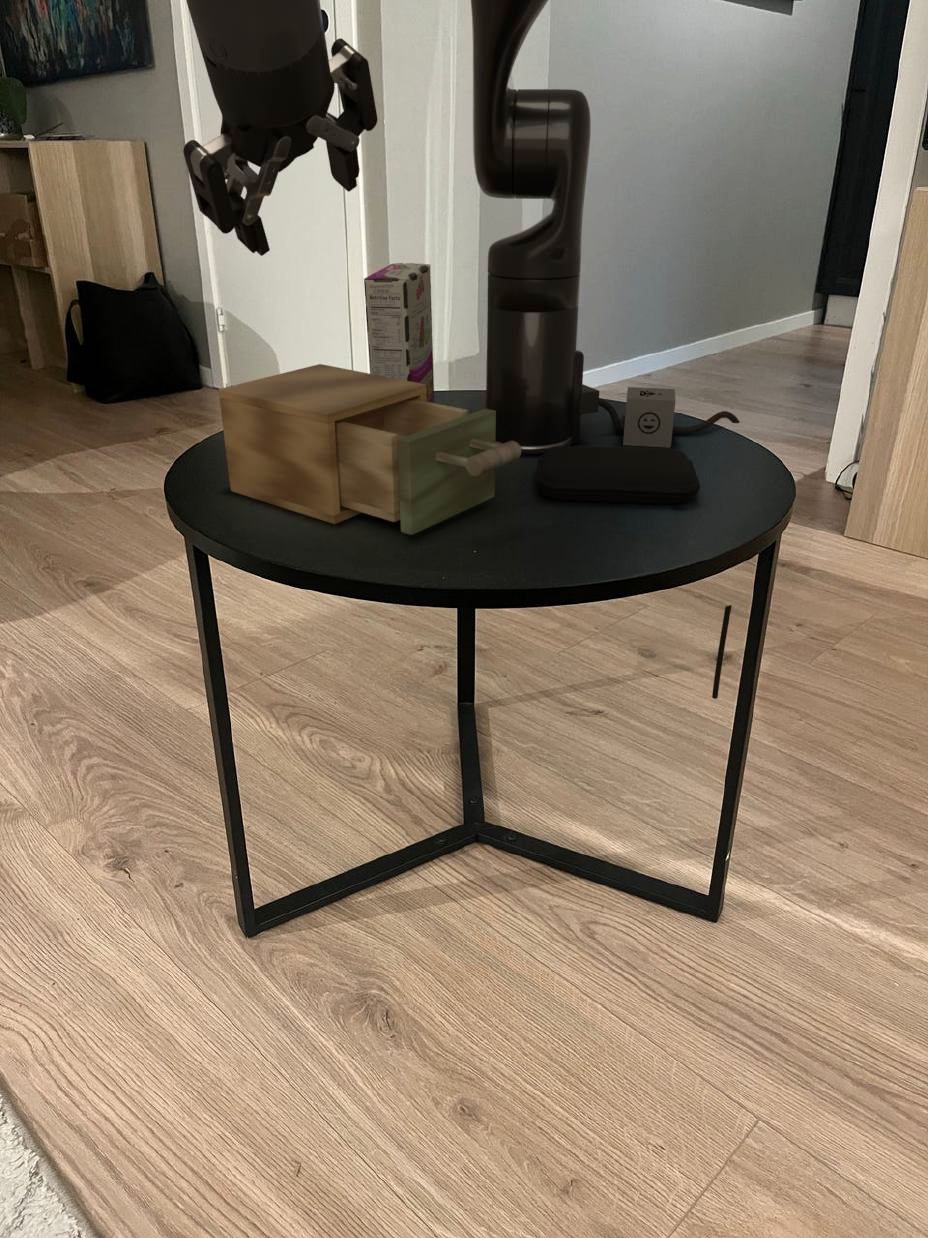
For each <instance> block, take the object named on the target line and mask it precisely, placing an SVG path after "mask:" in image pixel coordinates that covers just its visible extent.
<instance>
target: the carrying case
mask: <svg viewBox="0 0 928 1238" xmlns="http://www.w3.org/2000/svg"><path fill="white" fill-rule="evenodd" d="M535 485H536V487H537V488H538V489H539V490H540V491H541V492H542V494H543V495H544V496H545V497H546V498H548V499H550V500H551V499H552V500H556V501H557V500H558V501H577V502H578V501H579V502H603V503H629V504H631V503H632V504H664V505H666V504H668V505H676V504H683V503H684V504H685V503H687V502H689V501H690V500H691V499H692V498H693V497H694V496H696V495H697V494H698V493H699V491H700V490H701V484H700V481H699V478H698V474H697V472H696V469H695V466H694V463H693V461H692V460H691V459H689V457H688V456H687V454H686V453H685V452H683V450H679V449H674V448H673V449H672V448H656V447H628V446H627V447H626V446H625V447H624V446H623V447H622V446H590V445H589V446H587V445H584V446H582V445H570V446H554V447H551V448H549V449H547V450H546V451H545V453H542V454H540V456H539V458H538V460H537V466H536V474H535Z"/></svg>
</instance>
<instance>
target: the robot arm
mask: <svg viewBox="0 0 928 1238" xmlns="http://www.w3.org/2000/svg"><path fill="white" fill-rule="evenodd" d="M185 2H186V5H187V8H188V11H189V16H190V19H191V21H192V25H193V28H194V31H195V35H196V39H197V41H198V45H199V49H200V53H201V57H202V59H203V62H204V66H205V69H206V72H207V76H208V79H209V83H210V86H211V89H212V94H213V96H214V99H215V101H216V104H217V106H218V108H219V110H220V111H219V112H220V113H221V126H220V134H219V135H218V136H217V137H214V138H213V139H212V140H210V141H209V142H207V143H205V144H203V145H201V144H200V143H199V142H198V141H197V140H195V139H190V140H189V141H187V142H186V143H185V145H184V147H183V156H184V160H185V164H186V168H187V171H188V174H189V178H190V181H191V184H192V185H191V186H192V189H193V192H194V196H195V199H196V204H197V205H198V210H199V211H200V213H201V214H202V215H203V216H204V217H207V218H208V219H209V220H210V222H211V223H213V224H214V225H215V226H216V228H217V229H218V230H219V231H220V232H221V233H223V234H225V235H226V234H230V233H231V232H232V231H233V230H234V232H235V235H236V237H237V238H236V239H237V240H238V241H239V242H240V243H241V244H242V245H244V247H245V248H246V249H248V250H249V252H251V253H252V254H255V253H257V254H258V255H259V256H261V257H263V256H264V255H266V254H267V253H268V252H270V250H271V249H270V245H269V242H268V238H267V235H266V232H265V231H266V230H265V227H264V223H263V220H262V217H261V215H259V213H260V210H261V207H262V203H263V201H264V198H265V197H269V196H271V195H272V192H273V190H274V187H275V185H276V181H277V179H278V175H279V173H281V172H282V171H284V170H285V169H286V168H288V167H289V166H290V165H291V164H292V163H293V162H294V161H295V160H296V159H297V158H299V157H302V156H304V155H306V154H308V153H309V152H310V151H312V150H313V149H315V145H314V144H315V143H316V141H317V140H318V139H319V138H320V140H323V141H325V145H326V151H327V156H328V161H329V163H328V164H329V169H330V173H331V176H332V178H333V179H334V181H335V182H337V184H339V185H340V186H341V187H342V188H343V189H344V190H346V191H347V192H348V193H349V192H351V191H353V190H354V189H356V188H357V186H358V182H357V179H358V177H359V175H360V169H361V168H360V163H359V162H360V161H359V156H358V147H359V145H360V142H361V141H360V136H361V135H362V133H364V131H367V132H370V131H373V129H375V128H376V126H377V124H378V120H379V119H378V112H377V107H376V100H375V95H374V89H373V83H372V77H371V71H370V64H369V60H368V59H367V58H366V57H365V56H363V55H362V54H361V53H359V52H358V51H357V50H356V49H355V48H354V47H353V46H351V45H350V43H348V42H347V41H346V40H345V39H343V38H340V37H339V38H337V39H336V40H334V41H333V44H332V45H331V48H330V53H331V54H330V55H331V58H329V52H328V46H327V39H326V33H325V26H324V19H323V15H322V14H323V13H322V7H321V0H185ZM548 2H549V0H470V11H471V29H472V153H473V154H472V156H473V158H472V159H473V169H474V174H475V178H476V182H477V185H478V187H479V189H480V191H481V192H482V193H483V194H484V195H485V196H487V197H490V198H497V199H505V200H506V199H507V200H508V199H509V200H513V199H514V200H515V199H516V200H517V199H519V200H521V199H522V200H534V199H535V200H550V201H551V207H550V209H549V211H548V213H547V214H546V215H545V216H544V217H542V218H541V219H540V220H539V221H537V222H535V224H532V226H530V227H528V228H526V229H524V230H522V231H518V232H516V233H514V234H510V235H508V236H505V237H502V238H499V239H497V240H495V241H493V242H492V243H491V244H490V246H489V247H488V250H487V264H486V265H487V267H486V270H487V271H486V272H487V273H486V274H487V275H486V304H487V305H486V360H485V361H486V363H485V364H486V365H485V366H486V370H485V371H486V372H485V375H486V377H485V378H486V379H485V380H486V381H485V409H489V410H494V411H496V436H495V444H500V445H501V444H504V443H506V442H509V441H515V442H517V443H518V444H519V445H520V447H521V455H523V454H524V455H542V454H544V453H545V451H546V450H547V449H549V448H551V447H554V446H572V445H574V444H579V443H580V435H581V434H580V432H581V415H587V414H593V413H598V412H599V406H600V407H602V408H603V409H604V410H605V411H607V413H608V414H609V416H610V418H611V422H612V426H613V427H614V430H615V431H616V432H617V433H618V434H624V426H625V415H623V416H621V417H620V418H619V415H618V412H617V411H616V409H615V408H614V406H613V405H611V404H610V403H609V402H607V401H606V400H605V399H602V398H600V393H601V392H600V390H599V389H596V388H594V387H591V386H588V385H587V384H584V382H583V381H584V380H583V379H584V363H585V355H584V353H583V352H582V351H581V350H578V349H577V345H578V343H577V342H578V325H579V323H578V321H579V303H580V302H579V301H580V285H581V284H580V282H581V267H582V266H581V265H582V263H581V262H582V235H583V233H582V232H583V217H584V204H585V195H586V187H587V186H586V185H587V177H588V166H589V158H590V157H589V156H590V145H591V134H592V133H591V129H592V127H591V125H592V123H591V122H592V121H591V118H592V117H591V109H590V104H589V101H588V99H587V97H586V95H585V94H584V92H582V91H581V90H577V89H568V88H566V89H565V88H564V89H563V88H562V89H561V88H551V89H550V88H541V89H540V88H525V89H524V88H518V89H515V88H509V82H510V78H511V75H512V71H513V68H514V66H515V62H516V60H517V57H518V56H519V52H520V50H521V49H522V47H523V45H524V42H525V40H526V38H527V36H528V34H529V33H530V30H531V29H532V27H533V25H534V23H535V22H536V20H537V18H538V17H539V16H540V14H541V12H542V11H543V10H544V8H545V7H546V5H547V3H548ZM335 84H336V85H337V87H338V92H339V97H340V102H341V106H342V109H343V110H342V112H341V113H340V114H339V116H338V117H337V116H336V115H334V114H332V113H330V112H329V109H330V106H331V102H332V99H333V97H334V93H335V88H336V87H335ZM250 163H251V164H252V165H255V166H257V167H259V168H260V169H259V171H258V173H257V172H256V171H255V170H254V169H253V168H251V166H250V165H249V164H250ZM244 188H245V190H246V193H245V196H244V197H243V196H242V194H243V191H244ZM721 419H727V420H728V421H730V422H731V423H732V424H740V423H741V422H740V420H739V418H738V417H737V416H736V415H735V414H733V413H732V412H730V411H727V410H722V411H719V412H717V413H715V414H714V415H712V416H710V417H709V418H708V419H706V420H704V421H705V422H704V421H702V422H701V423H699V424H696V425H690V426H677V425H673V430H672V433H674V434H692V433H698V432H701V431H704V430H705V429H707V428H709V427H711V426H712V425H714V424H715V423H717V422H718V421H719V420H721ZM732 607H733V606H732V604H730V605H725V607H724V613H723V618H722V624H721V631H720V638H719V643H718V651H717V657H716V662H715V671H714V678H713V686H712V695H711V698H712V699H714V700H717V699H718V697H719V690H720V689H719V688H720V683H721V682H720V681H721V674H722V667H723V660H724V654H725V648H726V642H727V635H728V629H729V623H730V619H731V618H730V617H731V611H732Z"/></svg>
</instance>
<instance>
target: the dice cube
mask: <svg viewBox="0 0 928 1238" xmlns="http://www.w3.org/2000/svg"><path fill="white" fill-rule="evenodd" d="M625 401H626V402H625V403H626V404H625V414H624V416H625V426H624V433H623V440H622V446H628V447H629V446H632V447H647V448H666V449H672V439H673V432H672V430H673V426H674V421H675V409H676V389H675V388H661V387H660V388H657V387H637V386H627V392H626V400H625Z"/></svg>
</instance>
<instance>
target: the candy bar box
mask: <svg viewBox="0 0 928 1238" xmlns="http://www.w3.org/2000/svg"><path fill="white" fill-rule="evenodd" d="M431 265H432V264H428V263H413V262H410V263H409V262H407V263H403V262H398V263H391V264H389V265H387V266H385V267H383V268H381V269H379V270H378V271H376V272H373V273H372V274H370V275H368V276H366V277H364V278H363V285H364V286H363V287H364V298H365V300H364V303H365V304H364V305H365V319H366V335H367V347H368V362H369V363H368V365H369V374H374V375H379V376H384V377H390V378H395V379H400V380H405V381H410V382H415V383H420V384H426V394H427V402H431V403H436V402H435V383H434V381H435V378H434V377H435V375H434V347H433V313H432V311H433V310H432V281H431V279H432V278H431Z"/></svg>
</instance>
